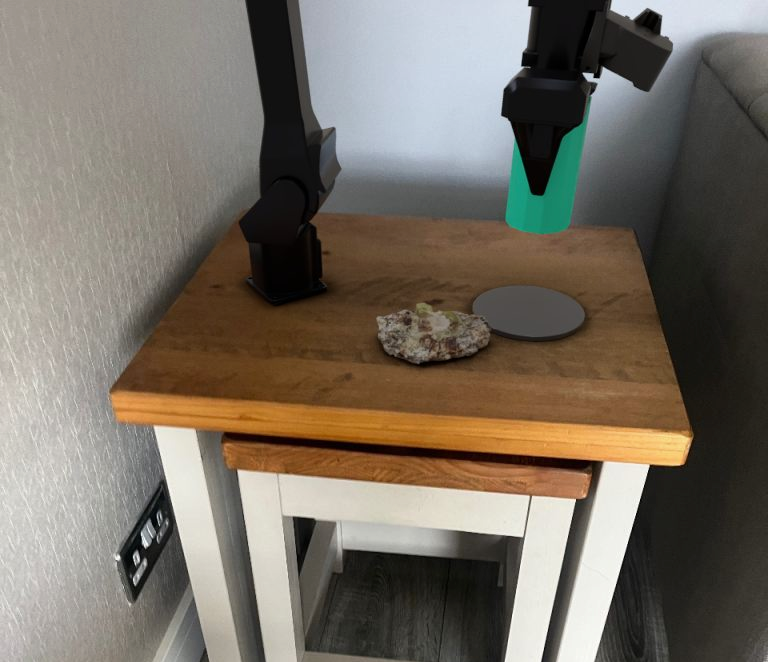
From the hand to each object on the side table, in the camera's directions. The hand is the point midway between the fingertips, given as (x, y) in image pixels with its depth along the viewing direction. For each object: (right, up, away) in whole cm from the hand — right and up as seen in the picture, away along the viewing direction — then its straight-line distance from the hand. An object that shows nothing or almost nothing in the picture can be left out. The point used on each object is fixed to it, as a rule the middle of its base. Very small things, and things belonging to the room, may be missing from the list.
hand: (542, 182), depth 70 cm
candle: (0, -3, +2) cm, 4 cm away
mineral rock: (-10, -14, +3) cm, 17 cm away
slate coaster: (0, -10, +7) cm, 12 cm away
